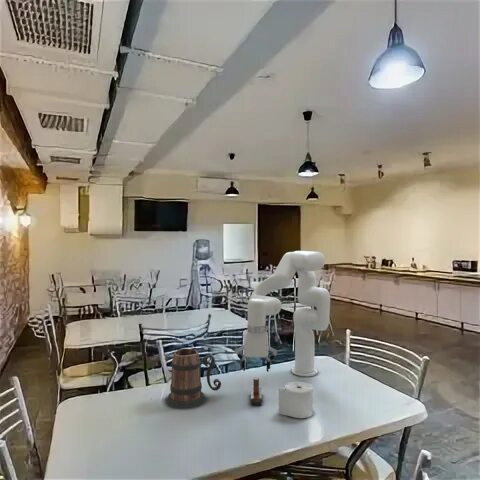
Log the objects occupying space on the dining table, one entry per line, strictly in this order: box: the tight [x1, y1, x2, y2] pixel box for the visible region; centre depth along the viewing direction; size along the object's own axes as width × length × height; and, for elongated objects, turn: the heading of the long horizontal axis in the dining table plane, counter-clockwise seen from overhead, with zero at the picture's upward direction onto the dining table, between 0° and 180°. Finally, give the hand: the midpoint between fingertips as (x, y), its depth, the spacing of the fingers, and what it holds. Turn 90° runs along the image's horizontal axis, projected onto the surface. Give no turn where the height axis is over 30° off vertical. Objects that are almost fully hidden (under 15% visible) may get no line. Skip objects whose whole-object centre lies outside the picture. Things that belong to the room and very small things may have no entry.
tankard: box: [165, 347, 222, 410], centre depth 170 cm, size 24×17×20 cm
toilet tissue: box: [278, 381, 314, 419], centre depth 158 cm, size 11×12×10 cm
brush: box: [250, 376, 263, 406], centre depth 169 cm, size 11×4×9 cm, turn 178°
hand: (255, 370), depth 169 cm, fingers open, 9 cm apart
